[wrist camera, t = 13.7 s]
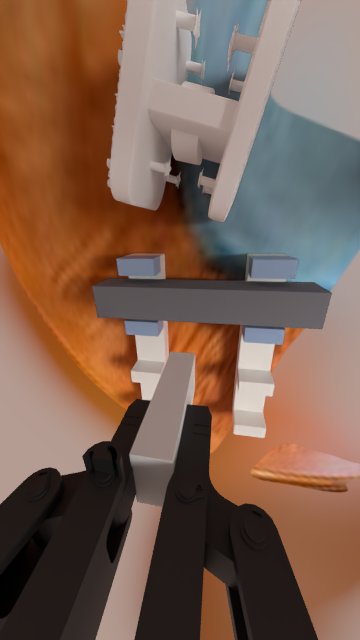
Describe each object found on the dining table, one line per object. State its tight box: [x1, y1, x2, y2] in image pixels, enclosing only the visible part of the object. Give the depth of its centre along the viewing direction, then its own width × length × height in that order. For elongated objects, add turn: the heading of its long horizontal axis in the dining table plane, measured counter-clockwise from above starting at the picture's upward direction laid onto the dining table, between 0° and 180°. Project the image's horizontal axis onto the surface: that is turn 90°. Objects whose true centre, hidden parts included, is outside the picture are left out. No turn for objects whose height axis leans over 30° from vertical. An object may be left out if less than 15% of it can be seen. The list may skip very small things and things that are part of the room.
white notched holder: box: [116, 253, 299, 438], centre depth 32 cm, size 20×26×6 cm
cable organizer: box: [107, 0, 301, 223], centre depth 19 cm, size 15×11×12 cm
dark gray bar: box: [92, 278, 332, 329], centre depth 27 cm, size 26×4×4 cm, turn 91°
